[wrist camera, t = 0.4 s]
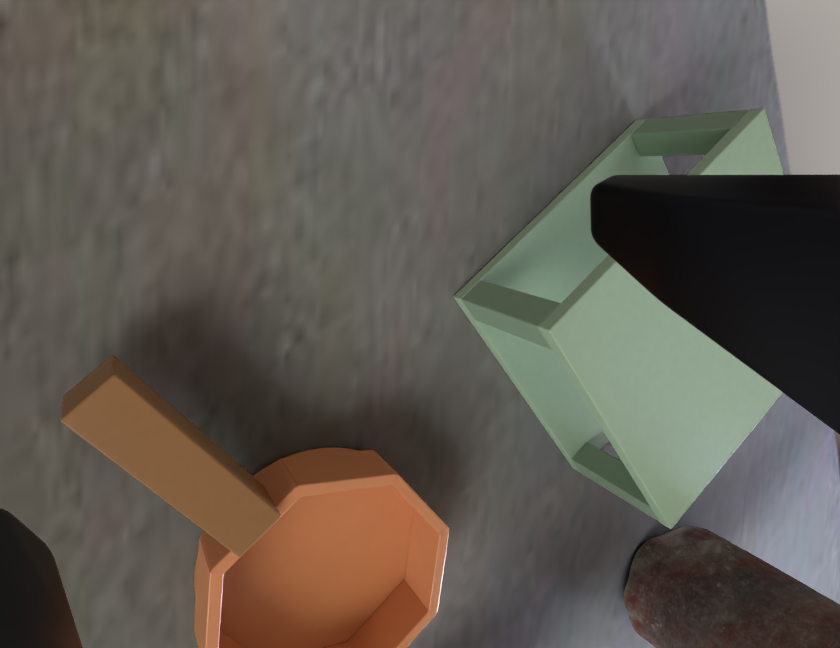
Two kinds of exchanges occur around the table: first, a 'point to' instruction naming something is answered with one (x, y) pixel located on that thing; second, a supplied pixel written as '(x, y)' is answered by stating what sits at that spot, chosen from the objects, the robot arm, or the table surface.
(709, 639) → the candle
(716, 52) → the table surface
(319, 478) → the pan
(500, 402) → the table surface
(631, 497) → the shelf
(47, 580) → the robot arm
